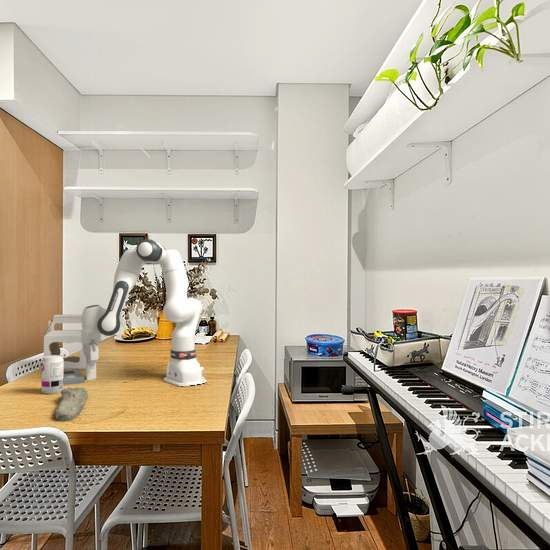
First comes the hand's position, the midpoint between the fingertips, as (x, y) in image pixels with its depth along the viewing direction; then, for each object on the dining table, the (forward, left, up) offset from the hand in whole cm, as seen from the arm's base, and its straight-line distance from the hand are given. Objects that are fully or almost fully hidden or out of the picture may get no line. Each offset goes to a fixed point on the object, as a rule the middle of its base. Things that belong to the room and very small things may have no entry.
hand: (90, 367), depth 205 cm
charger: (-1, 0, -5) cm, 5 cm away
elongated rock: (-41, +14, -6) cm, 44 cm away
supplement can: (-17, +18, -6) cm, 25 cm away
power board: (+3, +9, -5) cm, 11 cm away
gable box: (+32, +5, -6) cm, 33 cm away
